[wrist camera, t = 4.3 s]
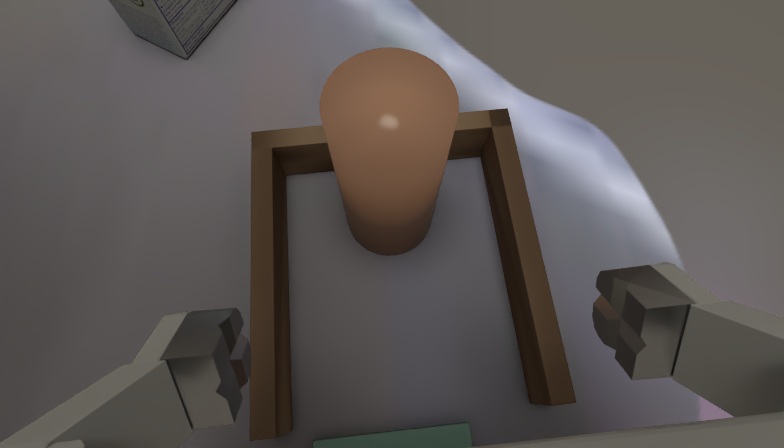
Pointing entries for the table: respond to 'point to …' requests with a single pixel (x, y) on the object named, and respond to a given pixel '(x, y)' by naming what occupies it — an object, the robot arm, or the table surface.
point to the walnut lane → (514, 235)
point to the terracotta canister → (389, 143)
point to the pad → (406, 438)
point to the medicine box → (172, 21)
